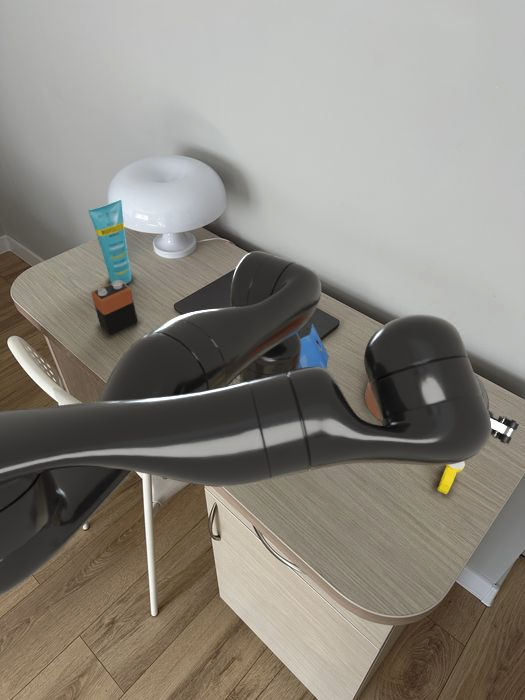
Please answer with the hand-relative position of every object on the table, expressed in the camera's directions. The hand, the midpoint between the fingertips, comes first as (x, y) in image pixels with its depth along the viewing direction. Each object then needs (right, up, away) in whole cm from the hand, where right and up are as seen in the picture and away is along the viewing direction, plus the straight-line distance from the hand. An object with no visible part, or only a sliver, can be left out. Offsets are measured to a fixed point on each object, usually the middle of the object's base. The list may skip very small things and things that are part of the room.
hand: (459, 407), depth 64 cm
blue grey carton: (-18, 0, +27) cm, 32 cm away
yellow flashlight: (+3, -14, +13) cm, 19 cm away
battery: (-56, +13, +40) cm, 70 cm away
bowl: (-1, -2, +25) cm, 25 cm away
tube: (-59, +24, +51) cm, 82 cm away
